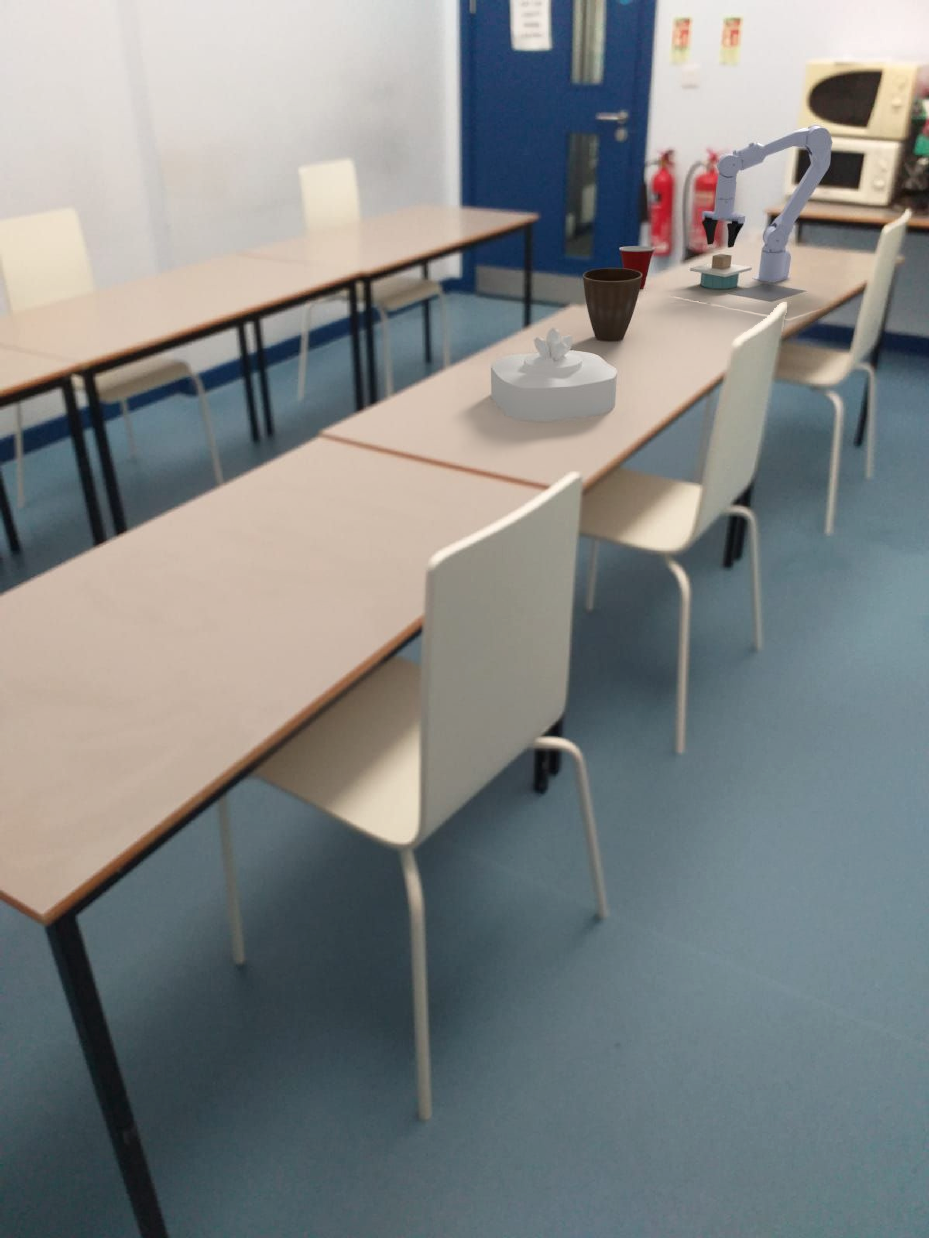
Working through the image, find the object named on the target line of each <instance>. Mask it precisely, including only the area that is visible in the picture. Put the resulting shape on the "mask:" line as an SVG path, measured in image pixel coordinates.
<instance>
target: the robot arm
mask: <svg viewBox="0 0 929 1238" xmlns="http://www.w3.org/2000/svg"><path fill="white" fill-rule="evenodd" d="M830 133H831V132H830V131H829V130H828V129H827V128H825V127H822V126H821V125H819V124H812V125H810V126H808V127H803V128H800V129H796V130H794V131H791V132H789V133H787V134H785V135H783V136H781V137H778V138H777V139H774V140H771V141H769V142H767V143H765V144H762V143H759V142H756V143H754V141H753V142H750V143H748V146H745V147H743V148H741V149H738V150H737V149H734V150H732V153H731V154H730V153H725V154H723V155H722V156H721V157H720V158H719V159H718V161H717V162H718V163H717V164H716V167H717V171H718V173H717V174H718V175H717V181H716V189H715V197H714V200H715V202H714V210H713V211H711V210H705V211H702V212H701V213H702V214H701V219H704V220H701V224H702V226H703V229H704V231H705V237H706V242H707V243H706V244H707V245H708V246H709V245H713V244H714V241H715V235H716V234H715V233H716V229H717V224H718V222H719V221H724V222H729V223H727V224H726V226H727V248H729V249H730V248H734V246H735V242H736V241H737V237H738V235H739V233H740V232H741V230H742V228H743V227H744V223H745V222H746V215H743V214H742V215H741V214H738V213H734V209H735V200H736V191H737V176H738V173H739V171H741V172H743V171H745V170H747V169H749V168H752V167H754V166H756V165H760V164H762V163H763V162H764V160H765V159H766V157H768V156H770V155H772V154H776V153H778V152H782V151H784V150H787V149H789V148H793V147H796V148H797V147H798V148H801V149H806V151H807V152H808V156H809V160H810V165H809V167H808V168H807V169H806V171H805V173H804V175H803V176H802V178H801V179H800V181H799V183H798V184H797V186H796V188H795V189H794V191H793V193H792V194H791V196H790V198H789V199H788V200H787V202H786V204H785V205H784V207H783V209H782V210H781V212H780V214H778V216H777V217H776V218H774V220H773V221H772V223H771V224H770V225H768V226H767V227H766V228H765V229H764V230H763V233H762V240H763V243H764V245H763V246H762V247H761V254H760V260H759V269H758V276H756V277H752V280H756V281H763V282H767V283H768V282H769V283H777V282H780V281H784V280H787V279H790V278H792V277H791V276H789V275H790V266H791V262H792V261H791V260H792V259H791V258H792V256H791V253H790V250H789V249H787V247H786V246H787V244H788V242H789V238H790V235H791V233H792V230H793V228H794V224H795V222H796V220H798V218H799V216H800V214H801V212H802V211H803V209H804V208H805V206H806V205H807V203H808V201H809V200H810V198H811V196H812V195H813V193H814V192H815V191H816V189H817V187H818V185H819V184H820V182H821V181H822V179H823V177H824V176H825V174H826V173H827V171H828V170H829V167H830V166H831V159H832V158H831V157H832V156H831V155H832V146H833V140H832V139H833V138H832V137H831V134H830Z"/></svg>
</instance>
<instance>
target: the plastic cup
mask: <svg viewBox="0 0 929 1238" xmlns="http://www.w3.org/2000/svg"><path fill="white" fill-rule="evenodd" d="M655 250H656V247H654V246H647V245H643V246H642V245H633V246H632V245H631V246H629V245H628V246H622V247H619V251H620V254H621V255H620V256H621V261H622V268H624V269H632V270H636V271H639V272H641V273H642V280H641V285H640V290H641V289H645V288H644V287H645V285H646V282H647V277H648V273H649V269H650V264H651V260H652V257H653V254H654V251H655Z"/></svg>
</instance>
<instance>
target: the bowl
mask: <svg viewBox="0 0 929 1238" xmlns="http://www.w3.org/2000/svg"><path fill="white" fill-rule="evenodd" d="M700 274H701V275H700V282H699V284H700V285H701V286H702V287H703V288H706V289H710V290H711V289H712V290H728V289H733V288H736V287H737V286H738V285H739V276H740V273H738V274H735V275H731V276H727V277H722V276H716V275H711V274H705V273H700Z"/></svg>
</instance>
